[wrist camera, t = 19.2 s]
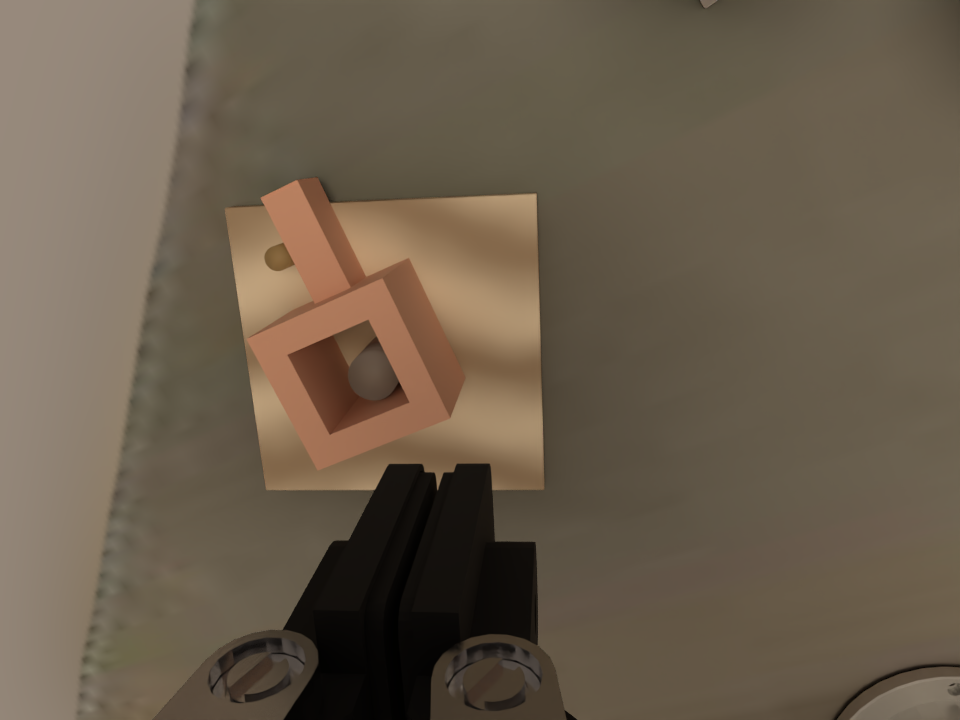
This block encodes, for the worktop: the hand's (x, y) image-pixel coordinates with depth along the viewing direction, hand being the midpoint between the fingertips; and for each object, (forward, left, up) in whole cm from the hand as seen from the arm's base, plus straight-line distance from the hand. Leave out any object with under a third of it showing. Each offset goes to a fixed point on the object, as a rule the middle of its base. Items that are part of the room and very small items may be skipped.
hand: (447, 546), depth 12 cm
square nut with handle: (-1, +9, -26) cm, 27 cm away
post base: (-4, +7, -27) cm, 28 cm away
